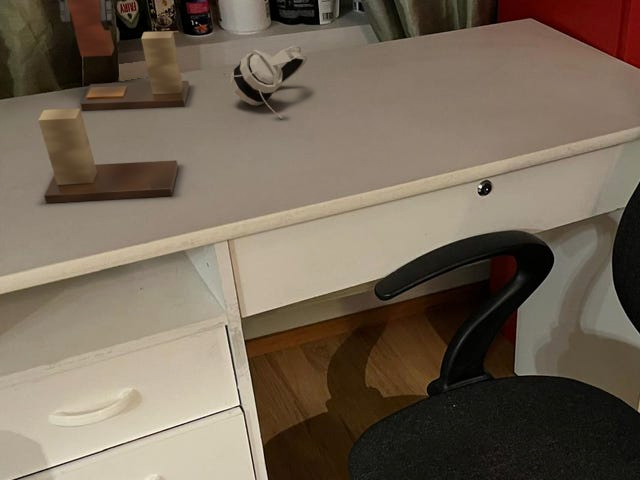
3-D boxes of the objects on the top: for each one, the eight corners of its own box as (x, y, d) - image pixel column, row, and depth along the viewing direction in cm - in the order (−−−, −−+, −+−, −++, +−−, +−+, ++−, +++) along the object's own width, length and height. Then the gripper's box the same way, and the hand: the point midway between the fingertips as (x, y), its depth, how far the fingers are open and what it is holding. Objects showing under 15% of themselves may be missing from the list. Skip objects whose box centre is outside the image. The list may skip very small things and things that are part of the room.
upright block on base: (82, 110, 122) (65, 46, 117) (91, 90, 128) (76, 28, 123) (184, 106, 124) (172, 42, 119) (189, 86, 131) (178, 25, 125)
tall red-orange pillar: (81, 56, 120) (65, -4, 115) (84, 49, 123) (70, -10, 118) (111, 55, 121) (97, -5, 116) (114, 48, 123) (100, -11, 118)
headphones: (184, 120, 119) (279, 83, 133) (241, 138, 115) (331, 97, 130) (176, 60, 114) (275, 28, 129) (234, 76, 110) (329, 41, 125)
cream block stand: (46, 203, 100) (23, 128, 94) (60, 173, 106) (39, 102, 100) (171, 196, 102) (156, 122, 96) (178, 167, 108) (164, 97, 103)
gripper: (16, -106, 115) (22, 15, 113) (128, -107, 117) (136, 12, 115) (36, -71, 122) (42, 43, 120) (141, -72, 125) (149, 40, 123)
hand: (88, 27), depth 118 cm, fingers closed on tall red-orange pillar, 4 cm apart
